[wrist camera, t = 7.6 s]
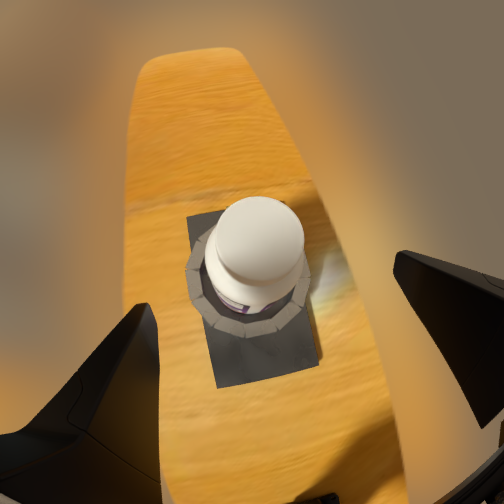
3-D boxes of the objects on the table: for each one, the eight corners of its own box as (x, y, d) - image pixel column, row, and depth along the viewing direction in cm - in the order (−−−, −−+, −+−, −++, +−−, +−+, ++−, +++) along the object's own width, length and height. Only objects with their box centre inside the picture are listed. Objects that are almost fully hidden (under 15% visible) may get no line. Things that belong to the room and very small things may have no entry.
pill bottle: (276, 243, 22) (306, 178, 13) (287, 309, 21) (331, 287, 11) (209, 250, 22) (194, 188, 12) (217, 318, 20) (204, 305, 11)
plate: (316, 364, 20) (319, 365, 19) (217, 386, 19) (217, 388, 18) (277, 205, 24) (279, 201, 23) (187, 220, 23) (186, 216, 22)
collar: (315, 321, 20) (321, 320, 19) (201, 345, 19) (198, 346, 18) (284, 200, 23) (287, 192, 22) (180, 218, 22) (177, 210, 21)
